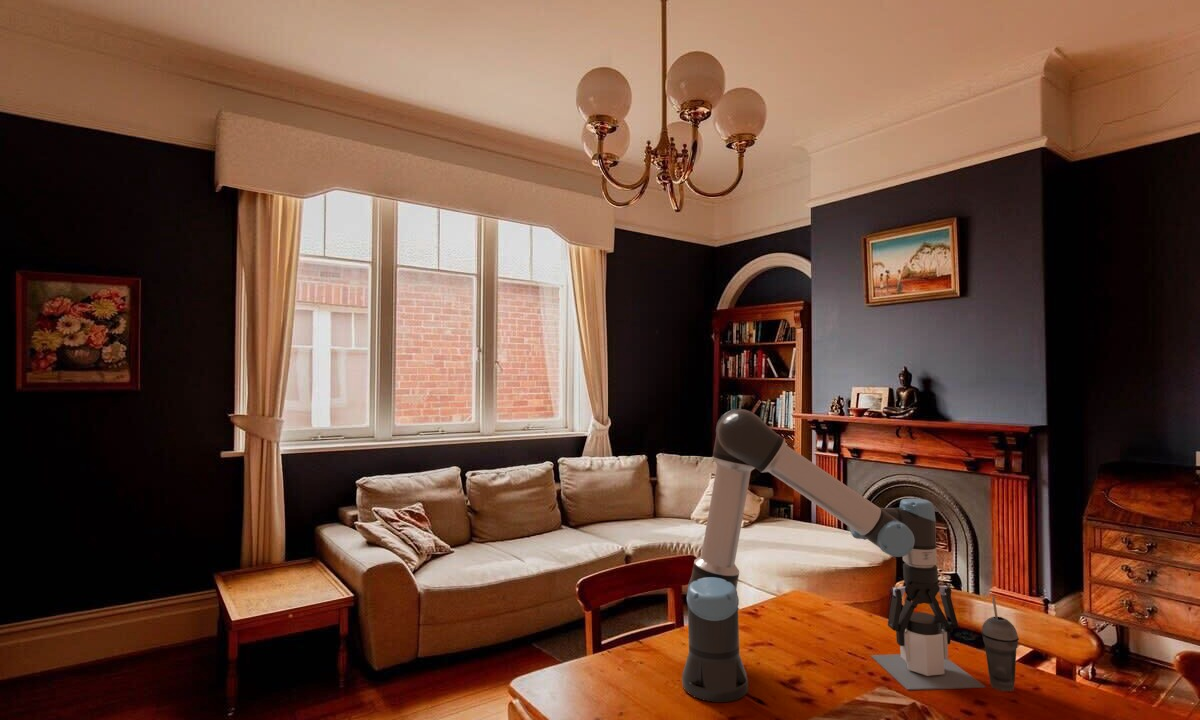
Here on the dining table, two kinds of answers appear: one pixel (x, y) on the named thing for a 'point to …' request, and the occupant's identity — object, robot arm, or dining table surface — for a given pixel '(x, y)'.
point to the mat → (917, 681)
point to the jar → (925, 644)
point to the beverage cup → (1000, 651)
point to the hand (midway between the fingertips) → (924, 658)
